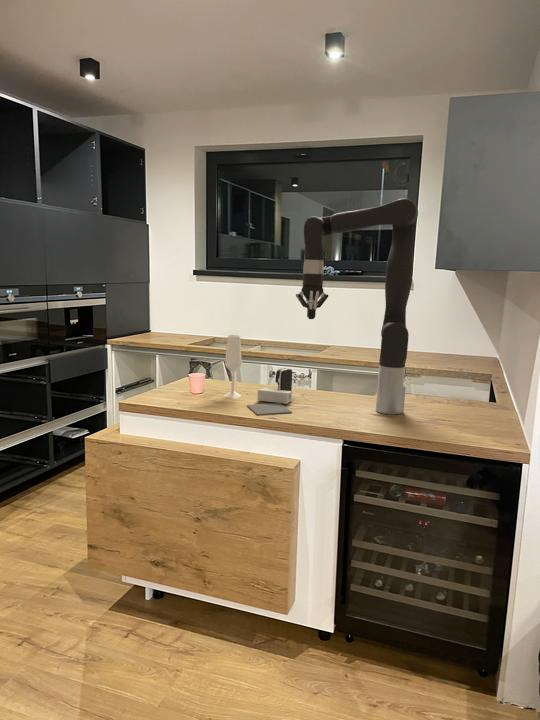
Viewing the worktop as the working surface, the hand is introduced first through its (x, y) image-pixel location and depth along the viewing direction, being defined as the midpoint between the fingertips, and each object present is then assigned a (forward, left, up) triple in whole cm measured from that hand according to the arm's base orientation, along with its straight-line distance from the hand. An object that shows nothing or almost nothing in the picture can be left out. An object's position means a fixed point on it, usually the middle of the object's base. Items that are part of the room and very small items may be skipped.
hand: (311, 318), depth 197 cm
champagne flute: (+26, -14, -32) cm, 44 cm away
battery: (+7, -8, -32) cm, 34 cm away
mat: (+18, +8, -32) cm, 38 cm away
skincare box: (+8, +2, -30) cm, 31 cm away
